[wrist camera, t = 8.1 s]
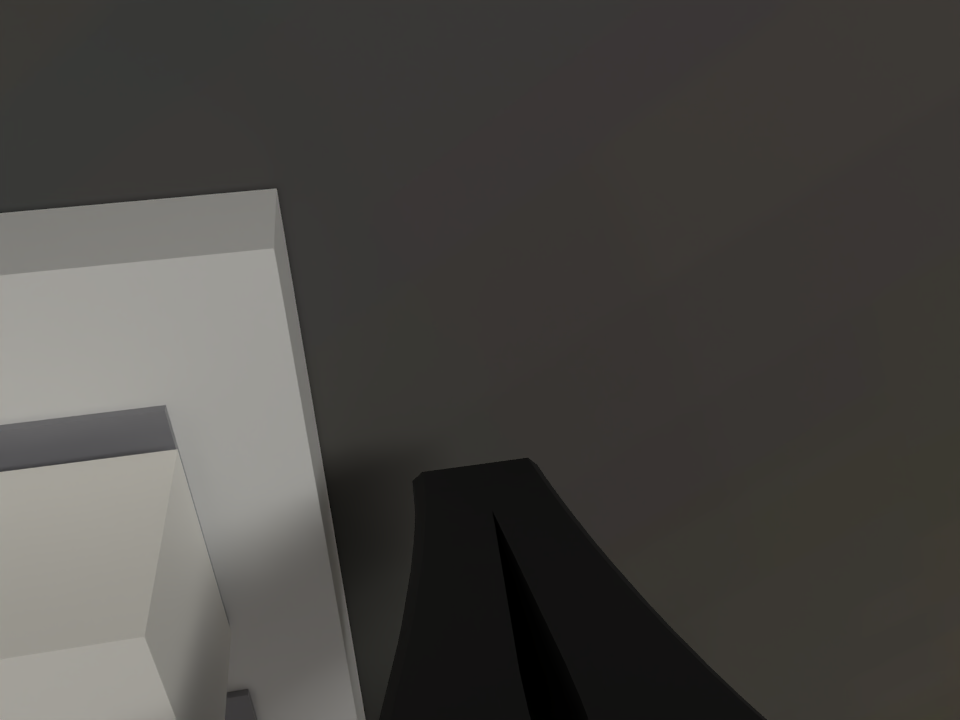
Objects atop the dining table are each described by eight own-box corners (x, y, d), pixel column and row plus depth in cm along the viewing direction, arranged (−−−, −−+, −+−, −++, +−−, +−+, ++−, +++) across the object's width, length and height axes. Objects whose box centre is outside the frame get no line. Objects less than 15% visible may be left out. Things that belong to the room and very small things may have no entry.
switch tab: (231, 632, 11) (216, 825, 9) (28, 664, 10) (-34, 872, 8) (177, 449, 9) (143, 636, 7) (-68, 480, 9) (-176, 687, 7)
